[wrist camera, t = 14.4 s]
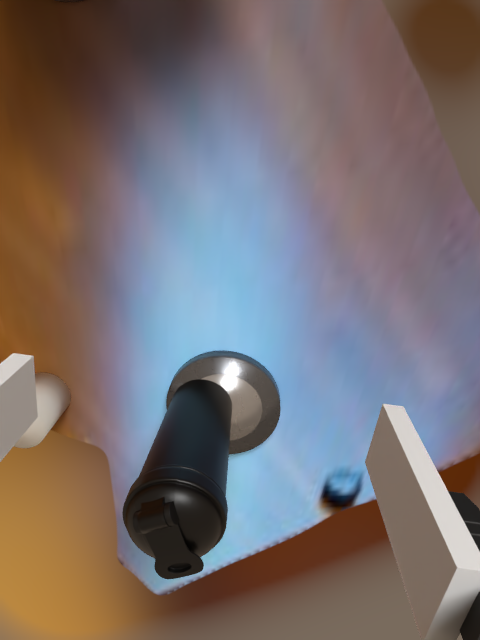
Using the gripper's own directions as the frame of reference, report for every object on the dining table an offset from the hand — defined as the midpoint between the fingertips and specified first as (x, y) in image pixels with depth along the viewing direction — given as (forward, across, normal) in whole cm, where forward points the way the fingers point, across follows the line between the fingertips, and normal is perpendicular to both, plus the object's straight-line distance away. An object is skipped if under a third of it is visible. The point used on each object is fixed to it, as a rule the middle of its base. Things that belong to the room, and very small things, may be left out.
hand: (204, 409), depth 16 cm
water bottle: (+37, -3, -25) cm, 45 cm away
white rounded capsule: (+39, -26, -28) cm, 54 cm away
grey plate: (+39, 0, -25) cm, 46 cm away
